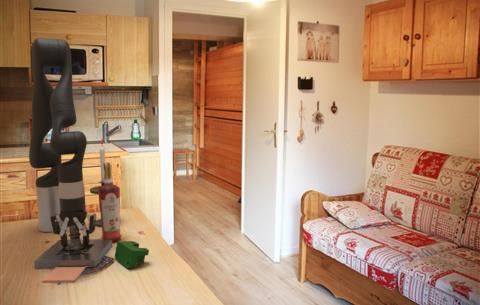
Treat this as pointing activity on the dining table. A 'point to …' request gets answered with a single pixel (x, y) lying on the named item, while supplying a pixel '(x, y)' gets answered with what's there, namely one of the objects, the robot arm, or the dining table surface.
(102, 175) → the candlestick
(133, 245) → the clamp
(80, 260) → the grey square frame
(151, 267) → the dining table surface
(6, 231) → the dining table surface
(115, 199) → the liquor
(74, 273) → the tile
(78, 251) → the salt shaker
